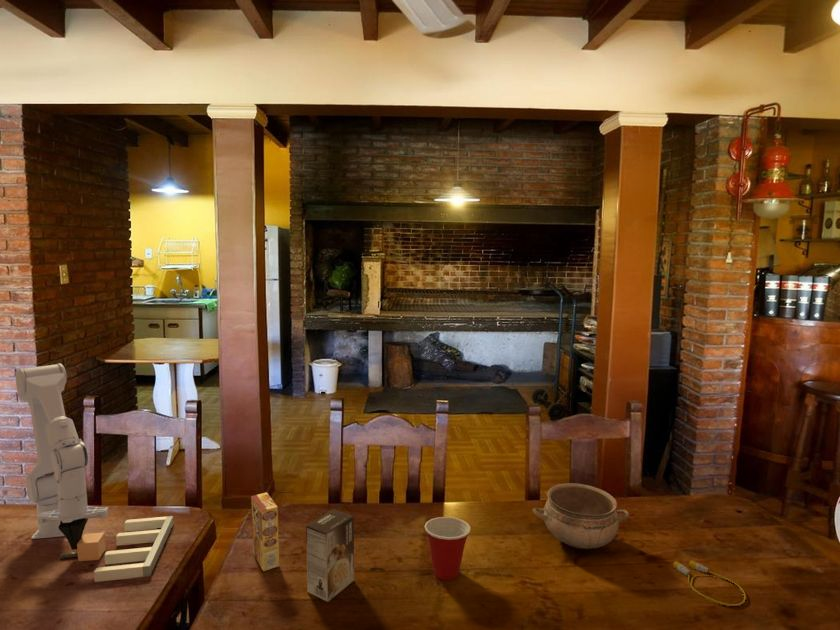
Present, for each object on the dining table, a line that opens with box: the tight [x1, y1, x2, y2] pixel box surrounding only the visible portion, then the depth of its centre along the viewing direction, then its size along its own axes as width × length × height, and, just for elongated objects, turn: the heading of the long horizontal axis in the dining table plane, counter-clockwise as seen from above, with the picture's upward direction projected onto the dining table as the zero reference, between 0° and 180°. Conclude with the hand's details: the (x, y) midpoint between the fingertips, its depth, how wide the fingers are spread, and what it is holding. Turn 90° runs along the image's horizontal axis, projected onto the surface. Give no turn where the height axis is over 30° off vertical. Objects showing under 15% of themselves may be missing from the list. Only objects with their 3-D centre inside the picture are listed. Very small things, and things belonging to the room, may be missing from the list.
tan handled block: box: [59, 531, 107, 562], centre depth 128 cm, size 4×9×4 cm, turn 102°
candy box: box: [250, 491, 280, 572], centre depth 127 cm, size 9×4×15 cm, turn 33°
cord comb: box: [93, 515, 174, 583], centre depth 131 cm, size 23×12×2 cm, turn 13°
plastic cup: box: [423, 516, 471, 581], centre depth 124 cm, size 11×11×12 cm
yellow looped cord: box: [672, 559, 747, 607], centre depth 122 cm, size 12×16×2 cm
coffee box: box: [305, 508, 355, 603], centre depth 118 cm, size 9×6×16 cm
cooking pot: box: [532, 482, 630, 550], centre depth 138 cm, size 25×19×12 cm
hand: (76, 547), depth 127 cm, fingers closed
